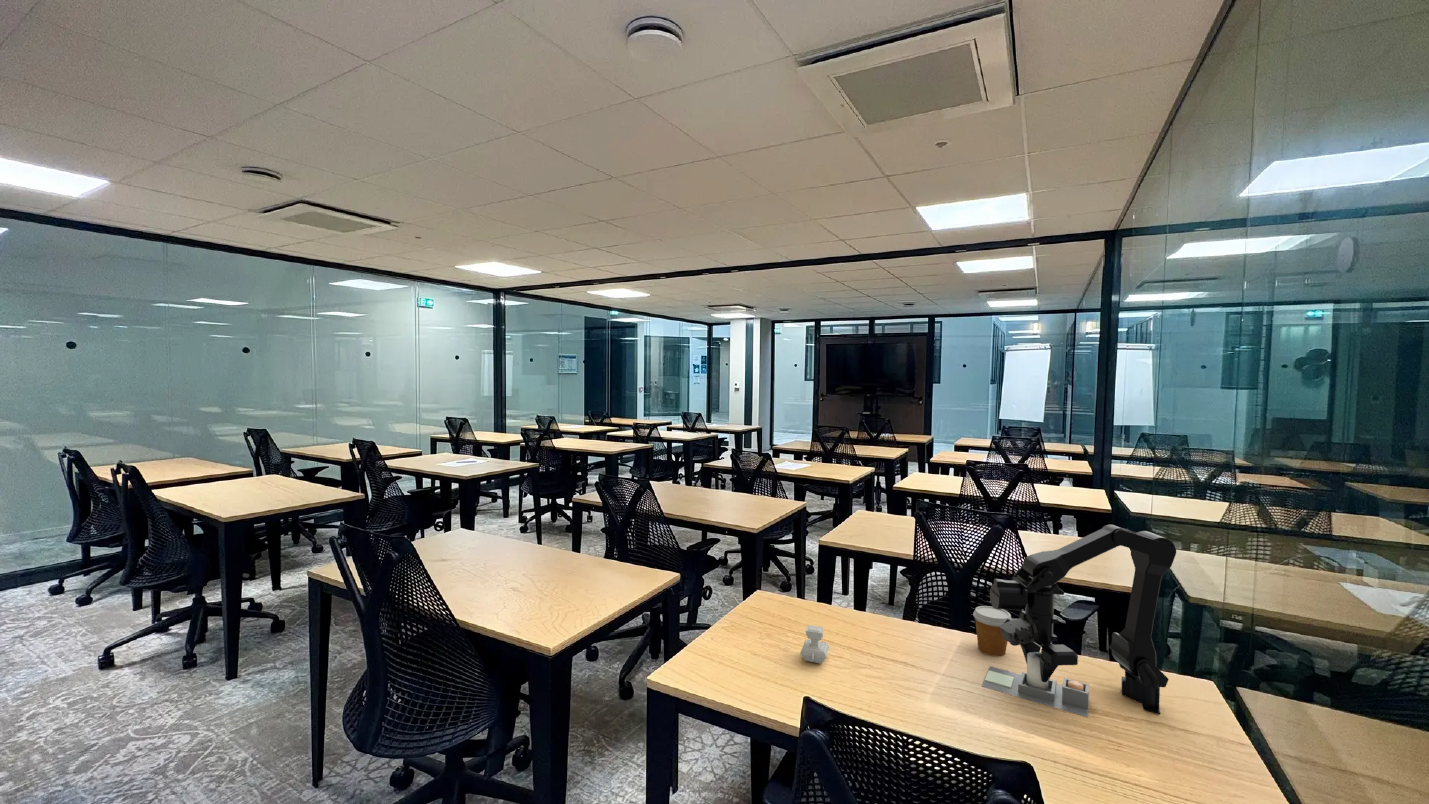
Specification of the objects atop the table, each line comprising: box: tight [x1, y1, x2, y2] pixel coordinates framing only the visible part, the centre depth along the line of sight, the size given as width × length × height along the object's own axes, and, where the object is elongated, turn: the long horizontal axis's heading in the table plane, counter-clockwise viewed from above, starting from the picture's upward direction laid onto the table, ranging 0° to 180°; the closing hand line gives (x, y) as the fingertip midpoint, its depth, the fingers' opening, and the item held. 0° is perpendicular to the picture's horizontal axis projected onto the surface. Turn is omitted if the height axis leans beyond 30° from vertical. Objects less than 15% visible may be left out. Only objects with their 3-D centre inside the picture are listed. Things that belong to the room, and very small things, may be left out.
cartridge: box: [1026, 651, 1048, 691], centre depth 130 cm, size 4×4×8 cm
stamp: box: [800, 624, 830, 665], centre depth 146 cm, size 9×7×8 cm
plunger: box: [1068, 680, 1084, 691], centre depth 125 cm, size 3×3×3 cm
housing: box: [981, 665, 1090, 718], centre depth 130 cm, size 21×12×5 cm, turn 55°
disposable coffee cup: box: [972, 605, 1013, 657], centre depth 150 cm, size 10×10×12 cm
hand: (1037, 676), depth 130 cm, fingers closed on cartridge, 4 cm apart
